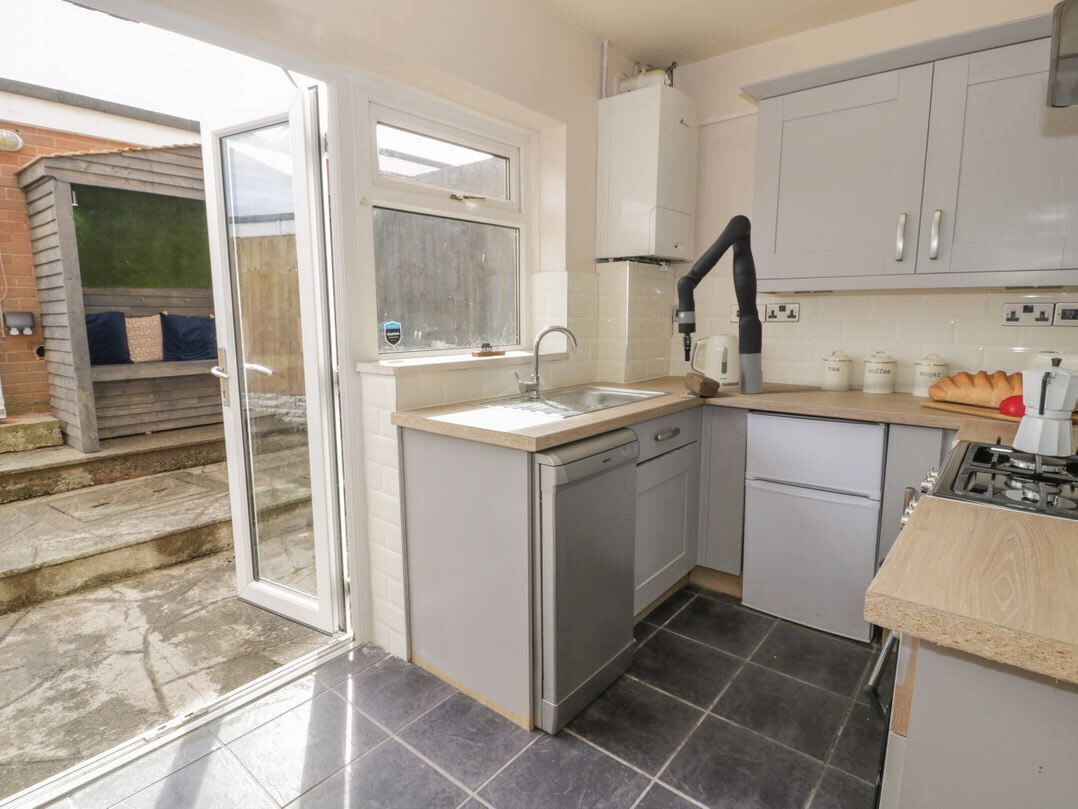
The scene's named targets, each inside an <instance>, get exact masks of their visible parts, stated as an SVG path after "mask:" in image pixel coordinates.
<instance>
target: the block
mask: <svg viewBox="0 0 1078 809" xmlns="http://www.w3.org/2000/svg"><path fill="white" fill-rule="evenodd" d="M683 380H684V382H683V383H684V386H685V387H684V388H685V389H686V390H688V391H689V392H694V393H697V394H699V395H700V396H703V397H708V398H714V397H715V396H716V395H717V393H719V392H718V391H719V389H720V387H721V385H720V382H719V381H717V380H715V379H713V378H710V377H708V376H704V375H701V374H698V373H694V372H687V373H686V375H685V377H684V379H683Z"/></svg>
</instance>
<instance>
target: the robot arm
mask: <svg viewBox="0 0 1078 809" xmlns="http://www.w3.org/2000/svg"><path fill="white" fill-rule="evenodd" d="M751 232H752V224H751V221H750V219H749V217H748V216H746V215H742V214H739V215H735V216H733V217H732V218H730V220H729V222H728V223H727V225H726V226H725V228H724V230H723V231H722V232H721V234H720V235H719V236H718V238H717V239H716V240H715V241H714V243H713V244H712V245H711V246H710V247H709V248H708V249H707V250H706V251H705V252H704V253H703V254H702V255H701V256H700V257H699V258H698V260H697V261H696V262H695V263H694V264H693V265H692V267H691V269H690V271H689V272H688V273H687V274H686V275H684V276H682V277H680V278H679V279H678V281H677V285H676V286H677V287H676V288H677V298H678V315H677V316H678V317H677V318H678V319H677V322H678V323H677V324H678V327H677V328H678V329H677V330H678V331H677V332H678V334H683V337H682V346H683V351H684V361H685V362H690V361H691V352H692V342H693V337H692V336H691V334H693V333H696V332H697V327H696V326H697V325H696V324H697V317H696V303H695V299H694V290H695V289H696V288H697V286H698V285H699V284H700V283H701V282H702V280H703V279H704V278H705V277H706V276H707V275H708V274H709V273H710V272H711V271H712V269H714V267H715V266H716V265H717V264H718V262H719V261H720V260H721V259H722V258H723V256H724V255H725V254H726V252H727V251H728V250H729V248H731V247H732V253H733V255H732V256H733V257H732V278H733V287H734V292H735V296H736V300H737V304H738V393H739V394H745V395H752V394H754V395H756V394H757V395H758V394H763V371H762V347H763V325H762V324H763V323H762V321H761V320H760V318H759V312H758V308H757V307H758V306H757V292H758V291H757V290H758V288H757V287H758V284H757V282H758V281H757V271H756V266H755V261H754V256H753V253H752V245H751V244H752V243H751V242H752V241H751V239H752V238H751Z"/></svg>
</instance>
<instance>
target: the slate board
mask: <svg viewBox="0 0 1078 809" xmlns="http://www.w3.org/2000/svg"><path fill="white" fill-rule="evenodd" d="M686 392H687V393H688V394H687V395H693V396H696V397H697V398H701V395H699V394H697V393H694V392H692V391H686Z"/></svg>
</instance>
